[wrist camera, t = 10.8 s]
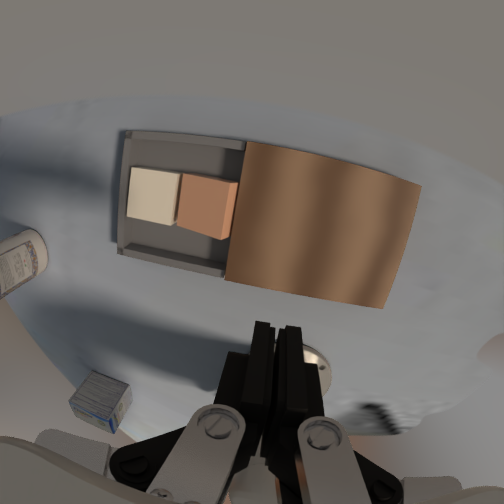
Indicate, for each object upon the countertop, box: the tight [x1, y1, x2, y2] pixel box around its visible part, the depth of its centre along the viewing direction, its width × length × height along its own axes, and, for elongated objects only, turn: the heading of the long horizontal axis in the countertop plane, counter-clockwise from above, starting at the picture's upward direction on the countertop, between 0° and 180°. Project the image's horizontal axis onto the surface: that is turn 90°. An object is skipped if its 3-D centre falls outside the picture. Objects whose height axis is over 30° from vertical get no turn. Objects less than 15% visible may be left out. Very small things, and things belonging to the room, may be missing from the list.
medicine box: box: [69, 371, 132, 434], centre depth 35 cm, size 8×4×9 cm, turn 81°
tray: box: [117, 131, 247, 278], centre depth 26 cm, size 12×13×2 cm
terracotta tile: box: [177, 173, 240, 240], centre depth 25 cm, size 5×5×2 cm
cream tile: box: [127, 166, 183, 226], centre depth 26 cm, size 5×5×2 cm
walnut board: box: [224, 141, 422, 309], centre depth 25 cm, size 16×13×3 cm
